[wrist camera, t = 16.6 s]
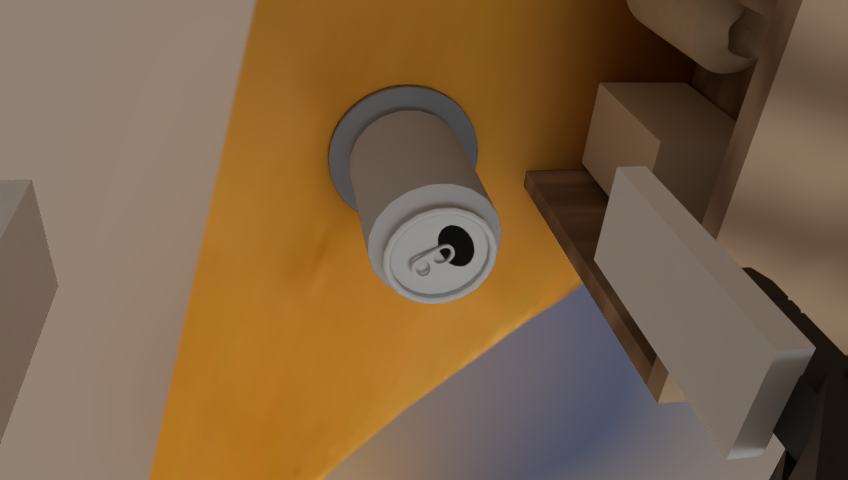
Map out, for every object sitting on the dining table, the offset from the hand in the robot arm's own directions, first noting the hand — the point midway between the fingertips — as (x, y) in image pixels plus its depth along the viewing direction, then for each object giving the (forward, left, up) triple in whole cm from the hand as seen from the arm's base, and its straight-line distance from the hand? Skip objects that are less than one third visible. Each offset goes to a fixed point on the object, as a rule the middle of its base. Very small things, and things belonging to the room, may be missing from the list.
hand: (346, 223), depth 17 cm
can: (+13, +7, -28) cm, 32 cm away
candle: (+1, +23, -29) cm, 37 cm away
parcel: (+11, +23, -29) cm, 38 cm away
